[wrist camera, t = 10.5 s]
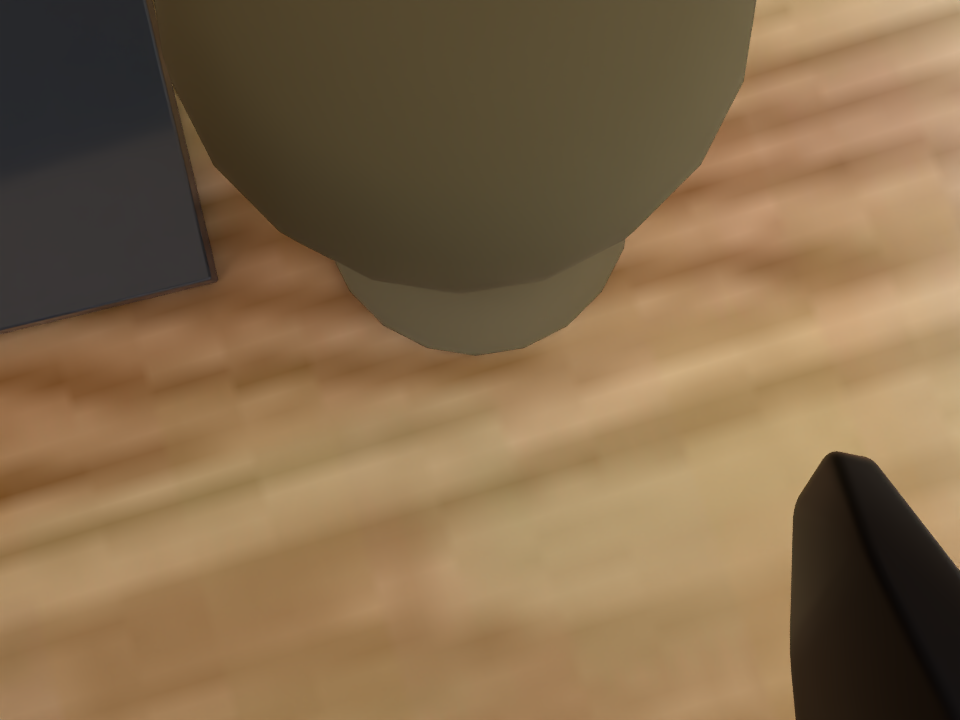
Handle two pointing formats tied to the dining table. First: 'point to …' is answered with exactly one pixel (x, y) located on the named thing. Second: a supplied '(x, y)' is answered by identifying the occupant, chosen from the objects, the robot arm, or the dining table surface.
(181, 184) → the slate coaster
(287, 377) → the dining table surface
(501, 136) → the brown game pawn
